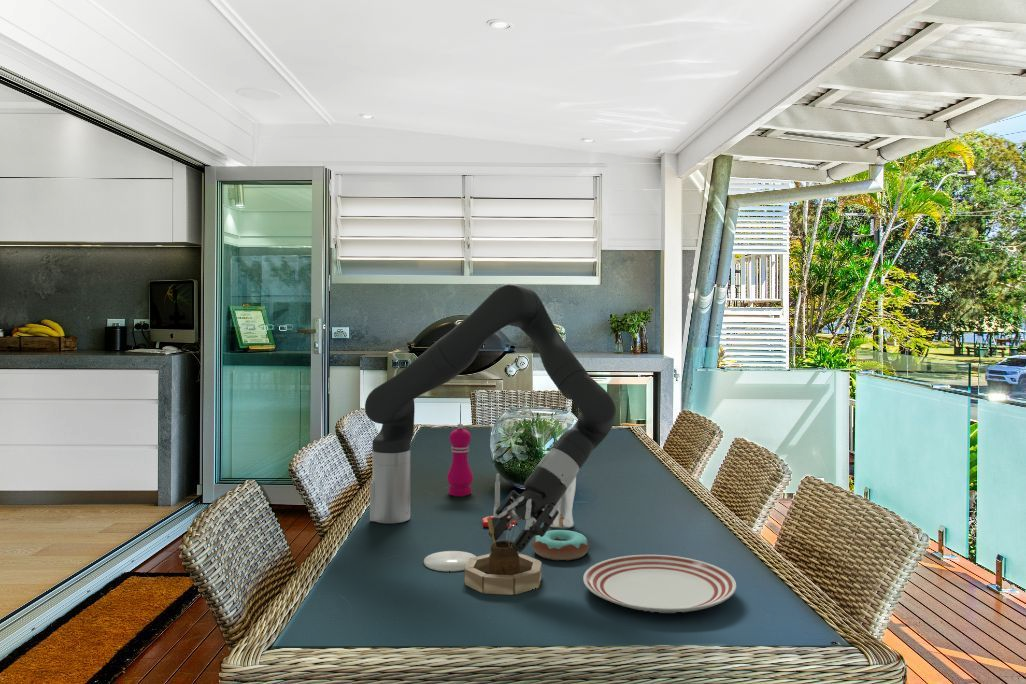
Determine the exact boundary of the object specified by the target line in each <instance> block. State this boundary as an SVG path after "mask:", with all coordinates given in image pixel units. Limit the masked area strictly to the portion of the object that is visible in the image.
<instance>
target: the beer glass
mask: <svg viewBox="0 0 1026 684" xmlns="http://www.w3.org/2000/svg"><path fill="white" fill-rule="evenodd" d="M576 484H577V476H576V477H575V479H574V480H573V482H572V483H571V484H570V486H569V487H568V489H567V490H566V491H565V493H564V494H563V496H562V497H561V498H560V500H559V501H558V503H557V504H556V505H555V506H554V507H555V508H556V509H557V510H558V511H559V513H558V515H557V516H556V518H555V520H554V521H553V523H552V524H551V526H550V527H549V528H553V529H556V530H568V529H572V528H573V527H574V526H575V522H574V518H573V505H574V500H575V494H576V487H577V486H576Z"/></svg>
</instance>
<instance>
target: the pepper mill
mask: <svg viewBox="0 0 1026 684" xmlns="http://www.w3.org/2000/svg"><path fill="white" fill-rule="evenodd" d="M471 440H472V436H471V433H470V432H469V431H468V430H466V429H464V424H463V423H457V426H456V429H454V430H452V431H451V432H450V433H449V442H450V444H451V445H452V446H451V449H450V450H451V452H452V462H451V466H450V468H449V470H448V472H447V479H446V480H447V483H448V484H449V485H450V486H449V487H448V495H449V496H452V495H453V497H466V496H465V495H468V496H470V495H471V494H472V487H471V486H470V485H471V484H472V482H473V480H474V476H473V471H472V469H471V467H470V464H469V460H468V452H470V449H469V448H470V446H469V444H470V442H471ZM469 494H470V495H469Z"/></svg>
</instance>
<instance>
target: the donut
mask: <svg viewBox="0 0 1026 684" xmlns="http://www.w3.org/2000/svg"><path fill="white" fill-rule="evenodd" d="M589 547H590V545H589V541H588V539H587V537H586V536H585V535H583V534H582V533H579V532H577V531H573V530H568V529H552V530H550V529H549V530H547V532H546V533H545V535H544V536H543V537H540V536H539V535H537V536H536V537H534V539H533V542H532V548H533V551H534V552H535V554H537V555H538V556H539V557H541V558H542V559H543V558H544V559H546V558H547V559H546V560H550V559H551V560H552V561H559V560H566V561H574V560H578V559H580V558H582V557H584V556H585V555H586V554H587V553H588V550H589ZM573 559H574V560H573ZM551 560H550V561H551Z"/></svg>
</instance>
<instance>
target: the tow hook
mask: <svg viewBox="0 0 1026 684" xmlns="http://www.w3.org/2000/svg"><path fill="white" fill-rule="evenodd" d="M500 490H501V482H500V473H495V482H494V506H493V515H489V516H490V517H491V521H492V524H493V526H494V524H495V523H496V522H497V520H498V515H497V514H496V513H495V511H496V510H497V509H498V507H499V506H500V505H501V502H500V498H501V491H500ZM489 516H485V517H484V518H482V527H483V528H489V526H488V521H487V518H488V517H489ZM509 517H511V515H509V516H508V517H507V518H509ZM516 524H518V521H513V522H512V523H510V524H508V525H507V528H506V529H511V528H512V527H511V526H512V525H513V526H515V525H516ZM510 525H511V526H510ZM509 526H510V527H509Z"/></svg>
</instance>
